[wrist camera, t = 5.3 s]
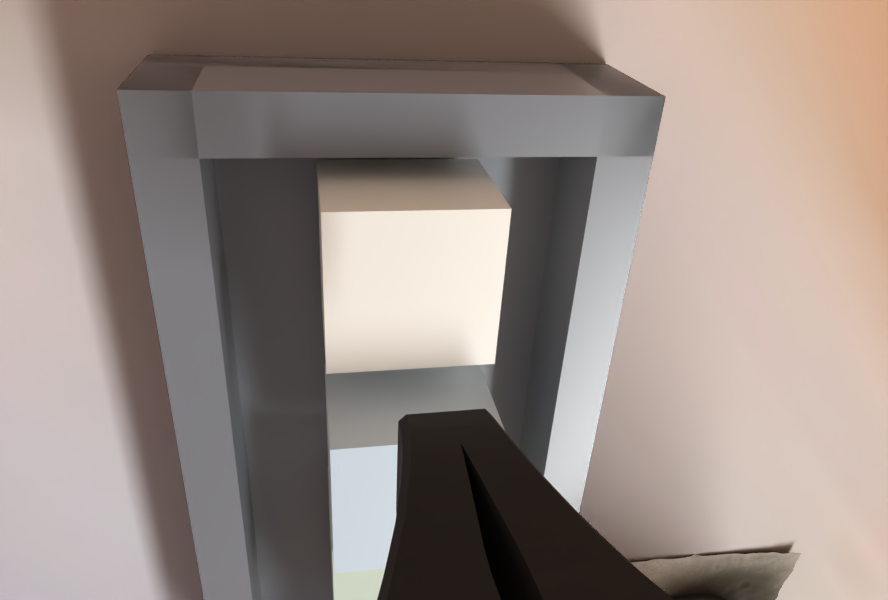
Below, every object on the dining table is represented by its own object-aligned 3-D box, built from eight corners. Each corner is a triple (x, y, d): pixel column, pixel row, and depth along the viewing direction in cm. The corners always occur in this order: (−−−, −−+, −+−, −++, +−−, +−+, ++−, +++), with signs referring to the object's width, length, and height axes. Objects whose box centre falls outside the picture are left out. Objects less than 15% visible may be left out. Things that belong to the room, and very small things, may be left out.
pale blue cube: (328, 479, 17) (334, 574, 15) (325, 363, 15) (329, 449, 13) (465, 467, 18) (491, 556, 15) (475, 355, 16) (507, 435, 14)
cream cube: (321, 302, 16) (326, 374, 14) (316, 159, 14) (320, 212, 12) (466, 297, 17) (494, 363, 14) (477, 158, 15) (511, 208, 13)
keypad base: (234, 647, 24) (227, 738, 21) (148, 54, 14) (116, 89, 12) (517, 611, 26) (542, 691, 23) (607, 64, 16) (665, 96, 14)
